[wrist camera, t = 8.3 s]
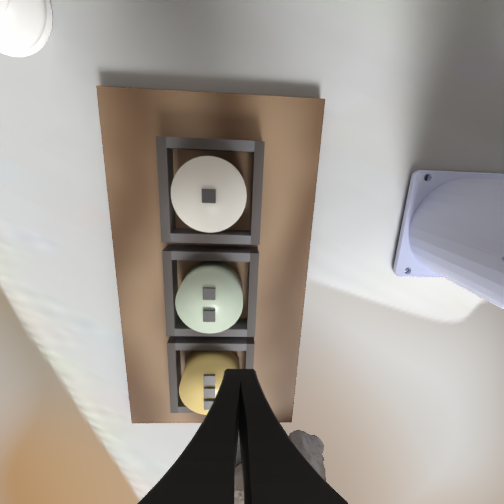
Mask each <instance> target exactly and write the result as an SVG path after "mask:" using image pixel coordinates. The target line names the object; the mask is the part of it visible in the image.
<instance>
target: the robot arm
mask: <svg viewBox="0 0 504 504" xmlns="http://www.w3.org/2000/svg"><path fill="white" fill-rule="evenodd" d="M426 174H427V175H428V179H427V180H426V181H425V180H424V177H425V175H426ZM406 268H408V271H407V272H405V269H406ZM393 272H394V274H396V275H397V276H401V277H444V278H446V279H448V280H449V281H451V282H453V283H455V284H457V285H459V286H461V287H462V288H464V289H466V290H468V291H470V292H472V293H474V294H475V295H477V296H479V297H481V298H483V299H485V300H487V301H488V302H490V303H492V304H494V305H496V306H498V307H500V308H502V309H503V310H504V174H503V173H480V172H458V171H435V170H417V171H415V172H414V173H413V174H412V176H411V181H410V186H409V191H408V196H407V201H406V206H405V211H404V216H403V221H402V226H401V231H400V237H399V242H398V247H397V252H396V257H395V262H394V267H393ZM238 432H239V436H240V448H241V460H242V472H243V485H244V504H348V503H347V501H345V500H344V499H343V498H342V497H341V496H340V495H339V494H338V493H337V492H336V491H335V490H334V489H333V488H332V487H331V486H330V485H329V484H328V483H327V482H326V481H325V480H324V479H323V478H322V477H321V476H320V475H319V474H318V473H317V472H316V471H315V469H314V468H313V467H312V466H311V465H310V463H309V462H308V461H307V460H306V459H305V458H304V456H303V455H302V454H301V453H300V452H299V450H298V449H297V448H296V446H295V445H294V444H293V442H292V441H291V439H290V438H289V437H288V435H287V434H286V432H285V431H284V429H283V428H282V426H281V425H280V423H279V421H278V419H277V418H276V416H275V414H274V413H273V411H272V409H271V407H270V405H269V403H268V401H267V399H266V397H265V395H264V393H263V391H262V388H261V386H260V383H259V381H258V378H257V374H256V371H255V370H254V369H226V370H225V371H224V376H223V380H222V383H221V385H220V388H219V390H218V393H217V395H216V397H215V399H214V402H213V404H212V406H211V408H210V410H209V411H208V413H207V415H206V417H205V419H204V421H203V422H202V424H201V426H200V427H199V429H198V431H197V432H196V434H195V435H194V437H193V438H192V440H191V441H190V443H189V444H188V446H187V447H186V448H185V450H184V451H183V453H182V454H181V455H180V457H179V458H178V459H177V460H176V462H175V463H174V464H173V465H172V467H171V468H170V469H169V470H168V471H167V473H166V474H165V475H164V476H163V477H162V478H161V480H160V481H159V482H158V483H157V484H156V485H155V486H154V487H153V488H152V489H151V490H150V491H149V492H148V493H147V495H146V496H145V497H144V498H143V499H142V500H141V501H140V502H139V503H138V504H234V477H235V464H236V453H237V443H238Z"/></svg>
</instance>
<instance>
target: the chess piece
mask: <svg viewBox="0 0 504 504" xmlns="http://www.w3.org/2000/svg"><path fill="white" fill-rule="evenodd" d="M52 23H53V16H52V8H51V4H50V0H0V53H2V54H5V55H8V56H12V57H26V56H30V55H32V54H34V53H36V52H38V51H39V50H40V49H41V48H42V47H43V46H44V45H45V44H46V42H47V41H48V39H49V36H50V33H51V30H52Z"/></svg>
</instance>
